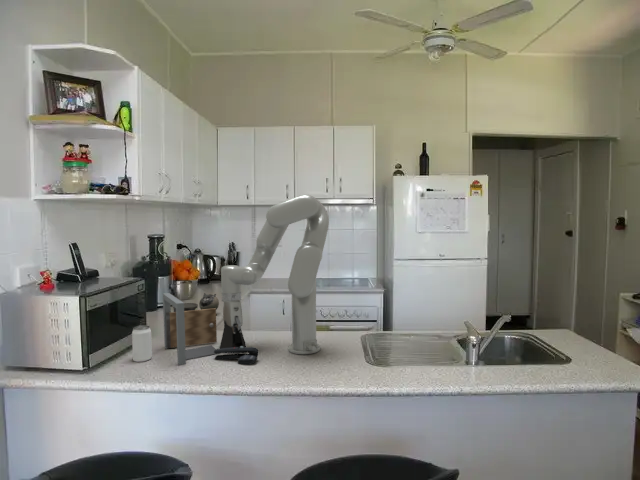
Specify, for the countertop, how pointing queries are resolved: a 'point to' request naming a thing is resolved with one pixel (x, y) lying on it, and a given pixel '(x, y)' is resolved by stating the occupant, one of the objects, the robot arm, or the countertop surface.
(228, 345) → the phone stand
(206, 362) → the countertop surface
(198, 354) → the rubber mat
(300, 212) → the robot arm
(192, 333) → the gate door
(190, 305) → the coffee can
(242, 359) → the can opener
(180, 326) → the door frame
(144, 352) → the can
